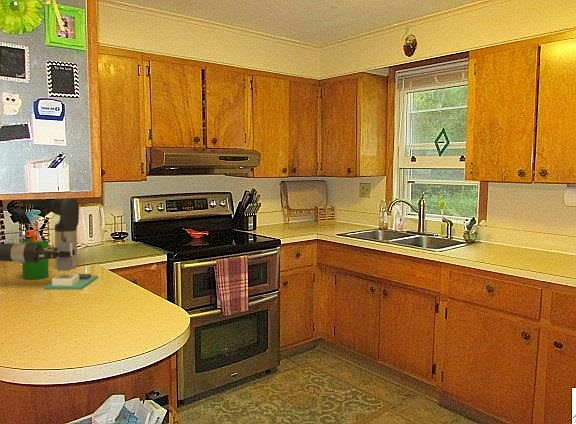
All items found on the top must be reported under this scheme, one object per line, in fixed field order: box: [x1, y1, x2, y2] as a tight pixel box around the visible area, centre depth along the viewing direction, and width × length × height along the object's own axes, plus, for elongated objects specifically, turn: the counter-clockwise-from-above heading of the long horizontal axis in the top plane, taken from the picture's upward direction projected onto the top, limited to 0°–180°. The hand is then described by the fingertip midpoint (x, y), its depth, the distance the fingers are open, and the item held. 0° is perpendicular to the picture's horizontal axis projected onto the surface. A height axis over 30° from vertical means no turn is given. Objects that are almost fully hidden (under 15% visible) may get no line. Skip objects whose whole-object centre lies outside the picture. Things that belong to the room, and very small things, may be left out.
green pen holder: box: [21, 229, 49, 280], centre depth 202 cm, size 10×9×20 cm
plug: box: [57, 234, 73, 272], centre depth 188 cm, size 4×5×14 cm
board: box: [43, 272, 99, 290], centre depth 193 cm, size 20×14×4 cm
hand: (72, 253), depth 188 cm, fingers closed on plug, 4 cm apart
